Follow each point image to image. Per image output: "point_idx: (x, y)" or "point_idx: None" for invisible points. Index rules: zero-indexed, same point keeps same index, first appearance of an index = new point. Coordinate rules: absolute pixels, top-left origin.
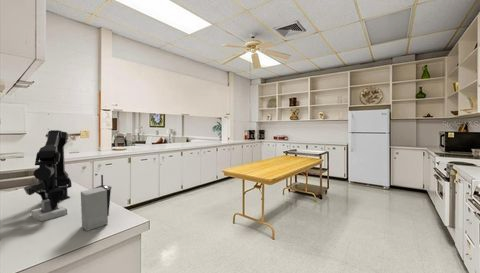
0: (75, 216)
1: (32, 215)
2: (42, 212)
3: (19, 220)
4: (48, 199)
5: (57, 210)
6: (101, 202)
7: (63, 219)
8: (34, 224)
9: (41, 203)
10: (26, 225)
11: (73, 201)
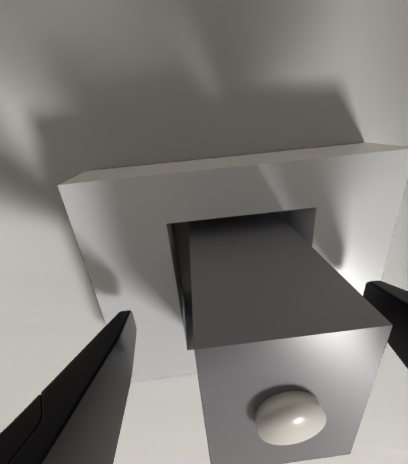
0: (32, 365)
1: (337, 146)
2: (252, 226)
3: (312, 6)
4: (304, 417)
5: (147, 330)
6: None
7: (11, 307)
8: (22, 109)
9: (337, 287)
10: (42, 33)
11: (400, 397)
